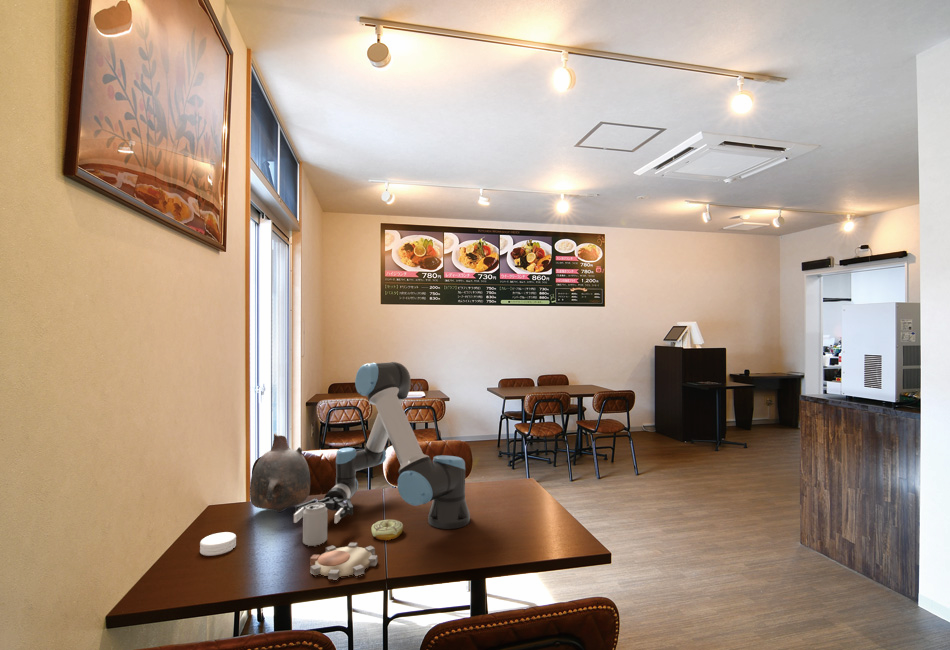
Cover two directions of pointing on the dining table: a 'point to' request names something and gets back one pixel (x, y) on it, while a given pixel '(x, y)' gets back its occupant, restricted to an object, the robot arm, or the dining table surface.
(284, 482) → the jug
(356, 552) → the sprocket wheel
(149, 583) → the dining table surface
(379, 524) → the decorated donut
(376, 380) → the robot arm
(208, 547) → the white thick disc
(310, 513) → the can
